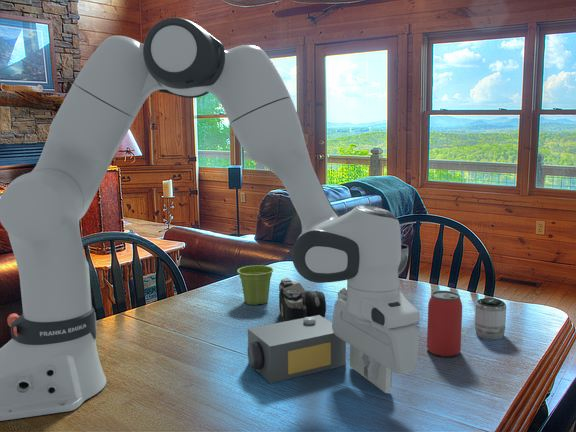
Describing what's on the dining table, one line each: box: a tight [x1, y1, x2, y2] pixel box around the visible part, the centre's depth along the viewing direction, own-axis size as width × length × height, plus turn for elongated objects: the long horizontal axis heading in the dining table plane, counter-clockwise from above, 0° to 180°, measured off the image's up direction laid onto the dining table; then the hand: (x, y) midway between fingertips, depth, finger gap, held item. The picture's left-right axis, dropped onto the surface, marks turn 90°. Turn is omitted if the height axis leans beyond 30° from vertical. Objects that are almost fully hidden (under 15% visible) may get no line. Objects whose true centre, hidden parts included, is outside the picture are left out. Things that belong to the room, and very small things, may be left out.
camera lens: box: [474, 297, 507, 341], centre depth 123 cm, size 6×6×8 cm
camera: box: [278, 277, 327, 322], centre depth 132 cm, size 16×10×10 cm, turn 10°
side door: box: [349, 344, 393, 394], centre depth 102 cm, size 12×2×5 cm, turn 24°
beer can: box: [426, 290, 463, 358], centre depth 114 cm, size 7×7×12 cm
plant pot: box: [236, 264, 274, 306], centre depth 147 cm, size 9×9×9 cm
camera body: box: [247, 315, 347, 384], centre depth 108 cm, size 17×10×8 cm, turn 117°
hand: (369, 376), depth 99 cm, fingers closed
